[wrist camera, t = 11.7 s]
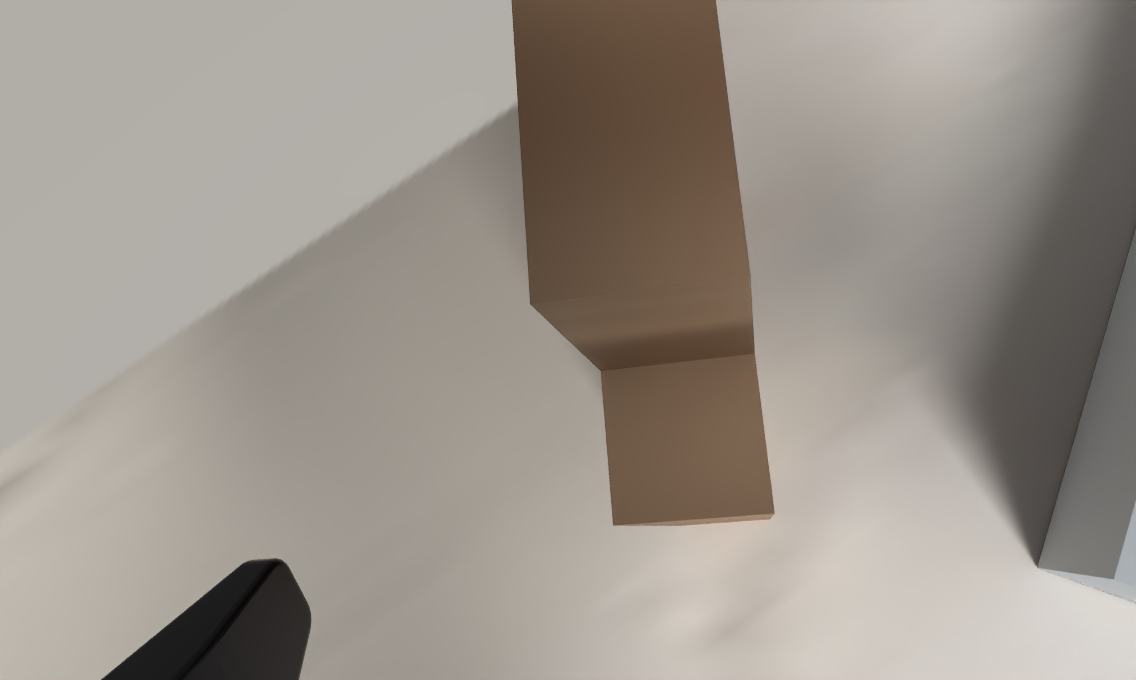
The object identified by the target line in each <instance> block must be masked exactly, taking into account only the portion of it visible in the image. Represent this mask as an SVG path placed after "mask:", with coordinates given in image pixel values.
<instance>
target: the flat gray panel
mask: <svg viewBox="0 0 1136 680" xmlns="http://www.w3.org/2000/svg"><path fill="white" fill-rule="evenodd" d="M1037 568H1039V569H1042V570H1045V571H1048V572H1050V573H1053V574H1056V575H1059V576H1062V577H1065V578H1067V579H1070V580H1073V581H1076V582H1079V583H1081V584H1084V585H1087V586H1090V587H1093V588H1095V589H1098V590H1101V591H1104V592H1107V593H1109V594H1112V595H1115V596H1118V597H1121V598H1123V599H1126V600H1129V601H1132V602H1135V603H1136V229H1135V233H1134V236H1133V239H1132V243H1131V246H1130V250H1129V253H1128V257H1127V260H1126V264H1125V267H1124V270H1123V274H1122V277H1121V281H1120V284H1119V288H1118V291H1117V295H1116V298H1115V301H1114V305H1113V308H1112V312H1111V315H1110V319H1109V322H1108V325H1107V329H1106V332H1105V336H1104V339H1103V343H1102V346H1101V350H1100V353H1099V356H1098V360H1097V363H1096V367H1095V370H1094V374H1093V377H1092V381H1091V384H1090V387H1089V391H1088V394H1087V398H1086V401H1085V405H1084V408H1083V412H1082V415H1081V418H1080V422H1079V425H1078V429H1077V432H1076V436H1075V439H1074V443H1073V446H1072V449H1071V453H1070V456H1069V460H1068V463H1067V467H1066V470H1065V474H1064V477H1063V480H1062V484H1061V487H1060V491H1059V494H1058V498H1057V501H1056V505H1055V508H1054V511H1053V515H1052V518H1051V522H1050V525H1049V529H1048V532H1047V536H1046V539H1045V542H1044V546H1043V549H1042V553H1041V556H1040V560H1039V563H1038V567H1037Z"/></svg>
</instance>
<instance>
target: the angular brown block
mask: <svg viewBox="0 0 1136 680" xmlns="http://www.w3.org/2000/svg"><path fill="white" fill-rule="evenodd" d="M512 13H513V29H514V46H515V62H516V78H517V95H518V111H519V128H520V144H521V160H522V177H523V193H524V209H525V226H526V242H527V258H528V275H529V291H530V304H531V305H532V306H533V307H534V308H535V309H536V310H537V311H538V312H539V313H540V314H541V315H542V316H543V317H544V318H545V319H547V320H548V321H549V322H550V323H551V324H552V325H553V326H554V327H555V328H556V329H557V330H558V331H559V332H560V333H561V334H562V335H563V336H564V337H566V338H567V339H568V340H569V341H570V342H571V343H572V344H573V345H574V346H575V347H576V348H577V349H578V350H579V351H580V352H581V353H582V354H583V355H584V356H586V357H587V358H588V359H589V360H590V361H591V362H592V363H593V364H594V365H595V366H596V367H597V368H598V369H599V370H600V371H601V379H602V392H603V404H604V417H605V429H606V442H607V454H608V467H609V479H610V492H611V504H612V517H613V525H628V526H683V525H696V524H710V523H724V522H737V521H751V520H765V519H770V518H771V517H772V516H773V515H774V514H775V513H774V505H773V497H772V489H771V481H770V473H769V465H768V457H767V449H766V441H765V433H764V425H763V417H762V409H761V401H760V393H759V385H758V377H757V369H756V361H755V351H754V333H753V315H752V297H751V279H750V269H749V261H748V253H747V245H746V237H745V229H744V221H743V213H742V205H741V198H740V190H739V182H738V174H737V166H736V158H735V150H734V142H733V134H732V126H731V118H730V110H729V102H728V94H727V86H726V79H725V71H724V63H723V55H722V47H721V39H720V31H719V23H718V15H717V7H716V0H512Z"/></svg>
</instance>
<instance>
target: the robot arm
mask: <svg viewBox="0 0 1136 680" xmlns="http://www.w3.org/2000/svg"><path fill="white" fill-rule="evenodd" d="M310 628H311V612H310V608H309V605H308V602H307V601H306V599H305V597H304V595H303V593H302V591H301V589H300V587H299V585H298V584H297V582H296V580H295V578H294V576H293V574H292V572H291V570H290V568H289V567H288V565H287V564H286V563H285V562H284V561H282V560H281V559H277V558H274V559H260V560H251V561H247V562H245V563H243V564H242V565H240V566H239V567H238V568H237V569H235V570H234V571H233V572H232V573H231V574H229V575H228V576H227V577H226V578H224V579H223V580H222V581H221V582H220V583H218V584H217V585H216V586H215V587H214V588H212V589H211V590H210V591H209V592H207V593H206V594H205V595H204V596H203V597H201V598H200V599H199V600H198V601H196V602H195V603H194V604H193V605H192V606H190V607H189V608H188V609H187V610H186V611H184V612H183V613H182V614H181V615H179V616H178V617H177V618H176V619H175V620H173V621H172V622H171V623H170V624H168V625H167V626H166V627H165V628H164V629H162V630H161V631H160V632H159V633H158V634H156V635H155V636H154V637H153V638H151V639H150V640H149V641H148V642H147V643H145V644H144V645H143V646H142V647H140V648H139V649H138V650H137V651H136V652H134V653H133V654H132V655H131V656H129V657H128V658H127V659H126V660H125V661H123V662H122V663H121V664H120V665H118V666H117V667H116V668H115V669H114V670H112V671H111V672H110V673H109V674H108V675H106V676H105V677H104V678H103V679H101V680H299V677H300V672H301V668H302V664H303V659H304V655H305V651H306V646H307V642H308V638H309V633H310Z"/></svg>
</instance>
